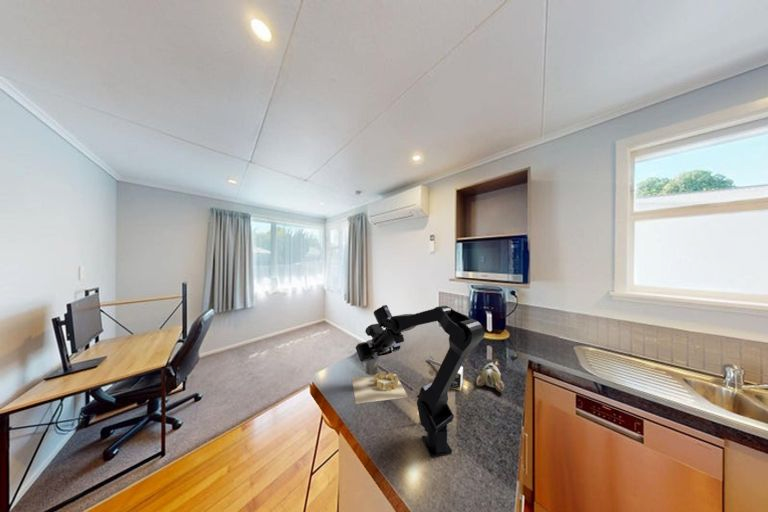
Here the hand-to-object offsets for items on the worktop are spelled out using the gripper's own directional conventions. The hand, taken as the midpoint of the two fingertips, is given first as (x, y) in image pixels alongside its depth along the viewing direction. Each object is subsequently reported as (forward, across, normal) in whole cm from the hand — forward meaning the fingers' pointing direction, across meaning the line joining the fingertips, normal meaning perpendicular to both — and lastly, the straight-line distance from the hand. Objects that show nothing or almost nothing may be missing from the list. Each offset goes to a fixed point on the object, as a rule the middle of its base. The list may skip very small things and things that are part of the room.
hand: (370, 357), depth 87 cm
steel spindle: (+3, 0, +5) cm, 6 cm away
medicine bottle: (-4, -31, +22) cm, 39 cm away
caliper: (+4, -37, +14) cm, 40 cm away
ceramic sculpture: (-11, -45, +30) cm, 55 cm away
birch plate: (+7, -3, +11) cm, 13 cm away
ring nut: (+6, -6, +10) cm, 14 cm away
